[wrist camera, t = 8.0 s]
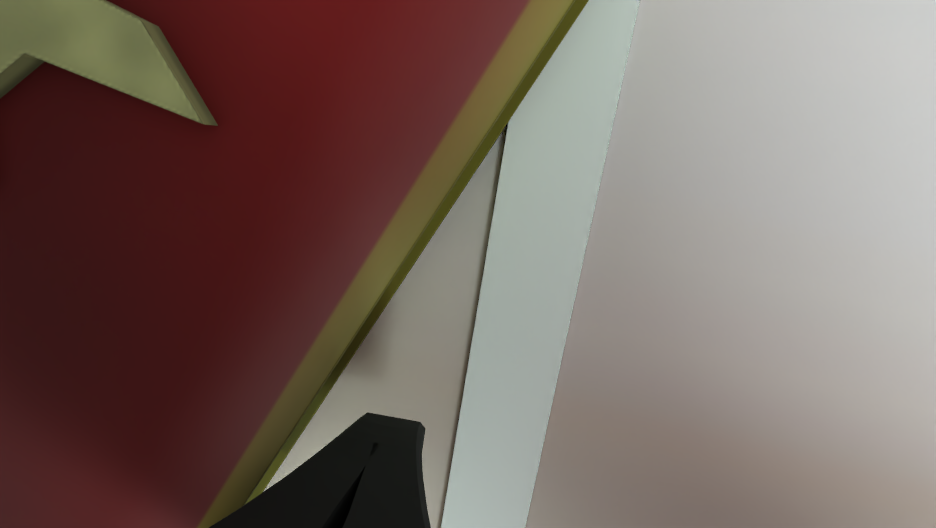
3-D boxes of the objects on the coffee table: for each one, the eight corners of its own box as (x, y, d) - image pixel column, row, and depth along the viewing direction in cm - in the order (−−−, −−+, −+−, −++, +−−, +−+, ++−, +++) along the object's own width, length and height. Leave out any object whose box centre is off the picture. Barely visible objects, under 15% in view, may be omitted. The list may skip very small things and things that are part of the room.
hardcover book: (-235, 422, 12) (-606, 556, 8) (32, -517, 7) (-550, -1339, 3) (157, 651, 13) (-3, 876, 9) (632, -67, 8) (760, -289, 4)
